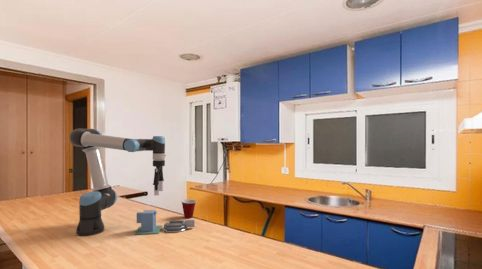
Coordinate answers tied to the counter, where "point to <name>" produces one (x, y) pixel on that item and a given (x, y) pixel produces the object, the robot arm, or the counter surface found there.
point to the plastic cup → (188, 207)
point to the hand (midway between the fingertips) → (158, 193)
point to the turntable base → (174, 231)
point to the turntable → (179, 224)
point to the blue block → (147, 220)
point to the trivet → (156, 231)
